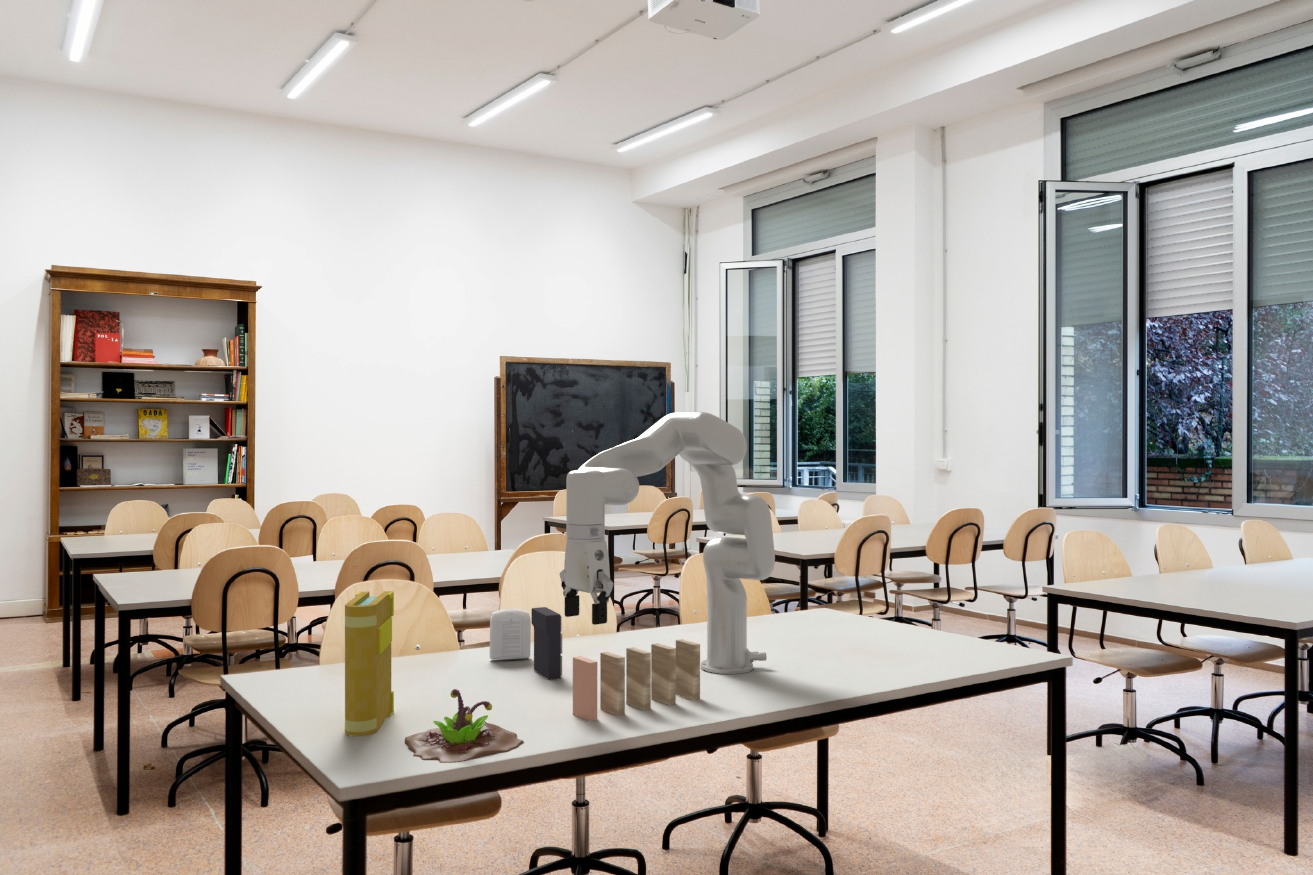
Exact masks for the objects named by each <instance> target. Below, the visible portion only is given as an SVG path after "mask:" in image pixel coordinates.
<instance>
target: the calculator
mask: <svg viewBox="0 0 1313 875" xmlns="http://www.w3.org/2000/svg"><path fill="white" fill-rule="evenodd" d="M562 625H563V624H562V616H561V614H560V613H559V612H556V611H554V610H553V609H551V608H549V607H546V606H540V607H532V608H531V626H532V627H533V670H534V671H535V672H536V673H538V674H539V675H541V676H542V677H544V678H545V679H547V680H548V681H552V680H560V679H561V678H562V677H563V655H562V654H563V633H562Z"/></svg>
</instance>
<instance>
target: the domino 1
mask: <svg viewBox="0 0 1313 875" xmlns="http://www.w3.org/2000/svg"><path fill="white" fill-rule="evenodd" d="M572 715H573V716H576V717H578V718H581V719H584V720H587V721H589V722H591V721H597V720H598V661H596V660H593V659H590V658H587V657H584V656H581V655H579V656H574V657H572Z"/></svg>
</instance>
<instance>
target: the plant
mask: <svg viewBox="0 0 1313 875" xmlns="http://www.w3.org/2000/svg"><path fill="white" fill-rule="evenodd" d="M450 697H451V698H453V699H456V698H457V702H458V703H457V704H458V705H457V706H458V707H457V708H458V709H457V712H455V713H454V714H453V716H452V718H451V717H448V716H444V717H443V719H444V721H445V723H446V724H445V723H443V722H441V721H439V720H438V721H437V720H432V723H433V724H434V725H435V726H437V727H435V728H431V729H428V730H426V731H422V732H418V733H415V734H414V733H413V734H412V735H409V736H406V737H405V738H404V744H405V745H406V746H408V750H411V751H412V752H413V754H412V757H418V758H420V759H421V760H423V761H433V760H434V761H438V763H439V764H440V763H443V764H447V763H448V764H450V763H451V764H452V763H453V764H454V763H463V762H467V761H472V760H474V759H475V760H476V759H478V758H483V757H486V756H492V755H497V754H500V753H508V752H511V751H513V750H515V749H518V748H519V747H520V746H521V745H522V744H525V742H524V740H523V739H519V738H518V735H517V733H516V732H513V731H511V730H510V731H509V730H507V729H504V728H502V726H499V725H497V724H494V723H490V722H489V723H488V722H486V720H487V719H489V715H488V714H487V715H483V716H480V717H478V718H477V719H476V720H474V722H473V713H474V712H475V711H476V709H478V707H480V706H482V705H483V707H484V708H485V710H486V711H491V710H493V705H492V703H491V702H490V701H487V700H484V701H483V700H482V701H479V702H476V703H475V704H474V705H473V706H472V707H470V706H468V705H467V706H465V705H464V699H463V698H462V694H461V692H460V690H459V689H457V688H454V689H452V690H451V691H450Z"/></svg>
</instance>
